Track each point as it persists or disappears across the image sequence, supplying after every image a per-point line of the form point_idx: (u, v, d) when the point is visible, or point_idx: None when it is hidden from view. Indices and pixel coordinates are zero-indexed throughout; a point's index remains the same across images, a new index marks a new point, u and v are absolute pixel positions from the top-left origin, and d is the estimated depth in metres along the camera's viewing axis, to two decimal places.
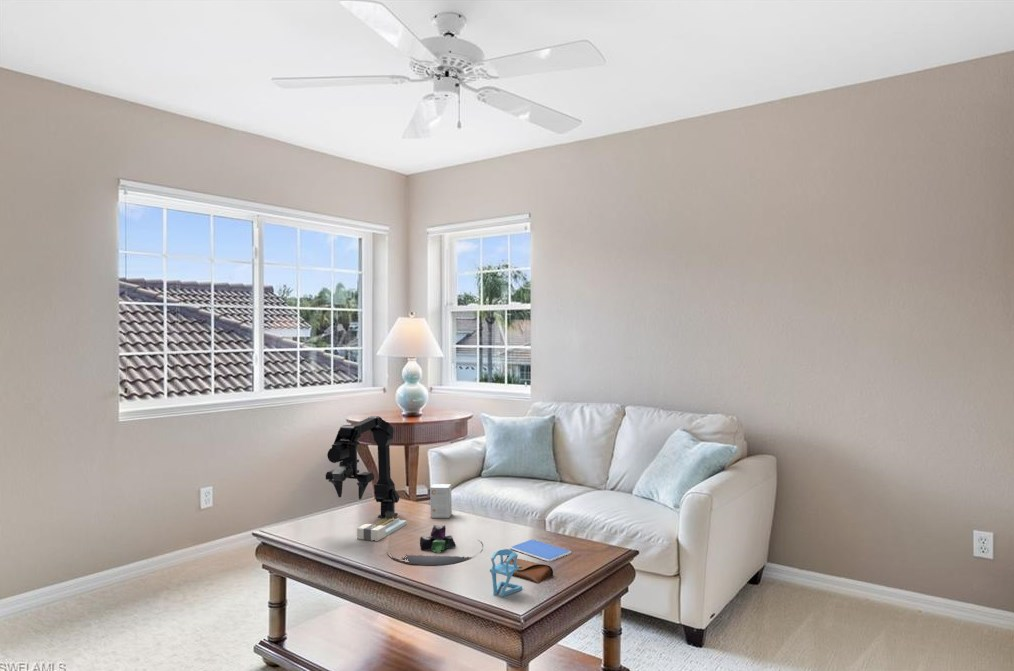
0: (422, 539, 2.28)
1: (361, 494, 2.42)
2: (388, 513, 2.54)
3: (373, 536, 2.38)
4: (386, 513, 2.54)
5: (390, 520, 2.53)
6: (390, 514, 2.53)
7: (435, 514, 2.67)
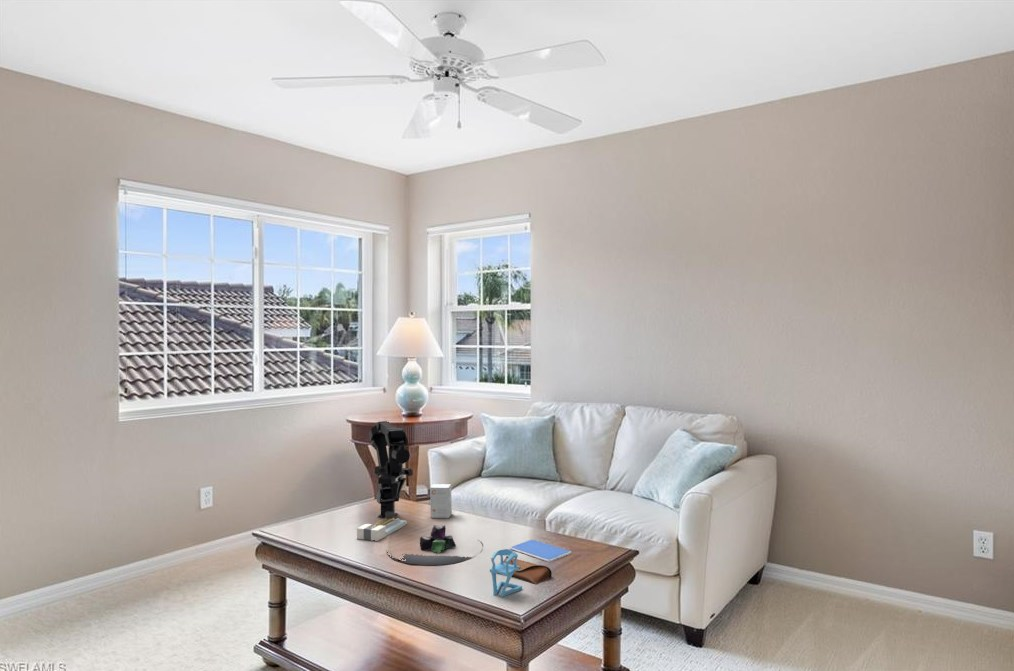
0: (422, 539, 2.28)
1: (393, 493, 2.58)
2: (388, 513, 2.54)
3: (373, 536, 2.38)
4: (386, 513, 2.54)
5: (390, 520, 2.53)
6: (390, 514, 2.53)
7: (435, 514, 2.67)
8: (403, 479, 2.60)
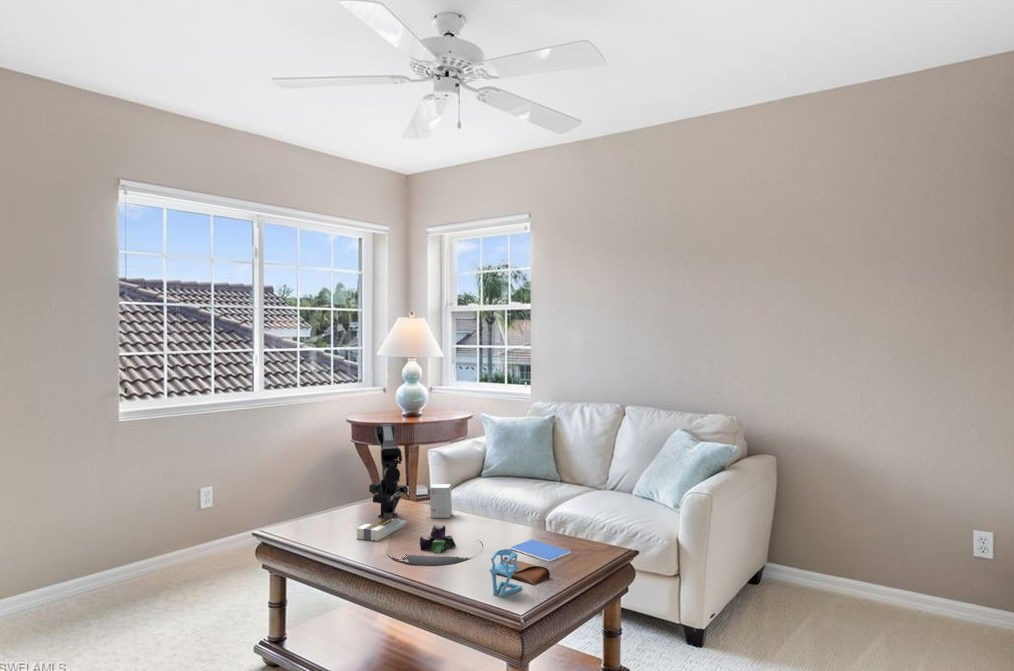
0: (422, 539, 2.28)
1: (389, 511, 2.55)
2: (386, 514, 2.52)
3: (373, 536, 2.38)
4: (384, 514, 2.53)
5: (388, 521, 2.51)
6: (388, 515, 2.52)
7: (435, 514, 2.67)
8: (397, 497, 2.56)
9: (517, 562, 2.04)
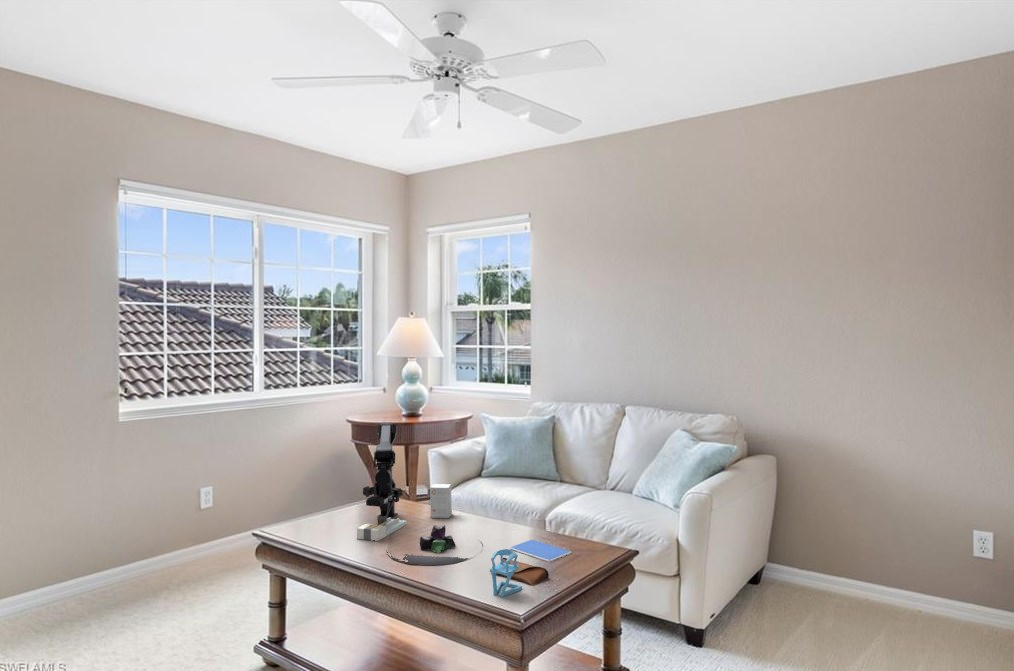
0: (422, 539, 2.28)
1: (383, 514, 2.50)
2: (380, 517, 2.48)
3: (373, 536, 2.38)
4: (378, 517, 2.48)
5: (382, 524, 2.47)
6: (382, 518, 2.48)
7: (435, 514, 2.67)
8: (391, 500, 2.51)
9: (516, 563, 2.03)
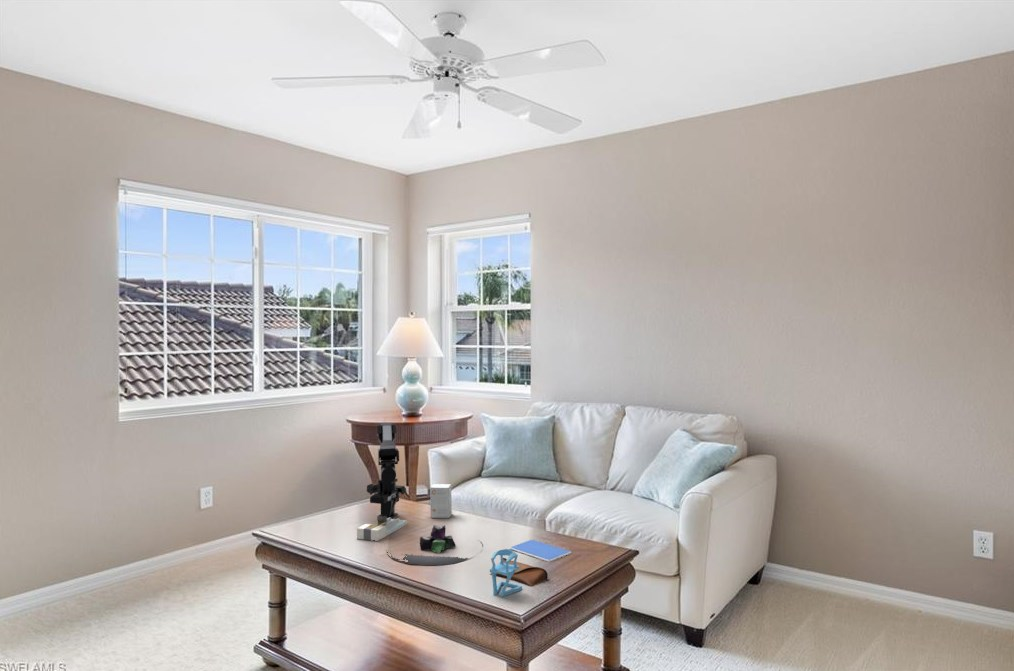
0: (422, 539, 2.28)
1: (387, 511, 2.53)
2: (380, 517, 2.48)
3: (373, 536, 2.38)
4: (378, 517, 2.48)
5: (382, 524, 2.47)
6: (382, 518, 2.48)
7: (435, 514, 2.67)
8: (395, 498, 2.54)
9: None
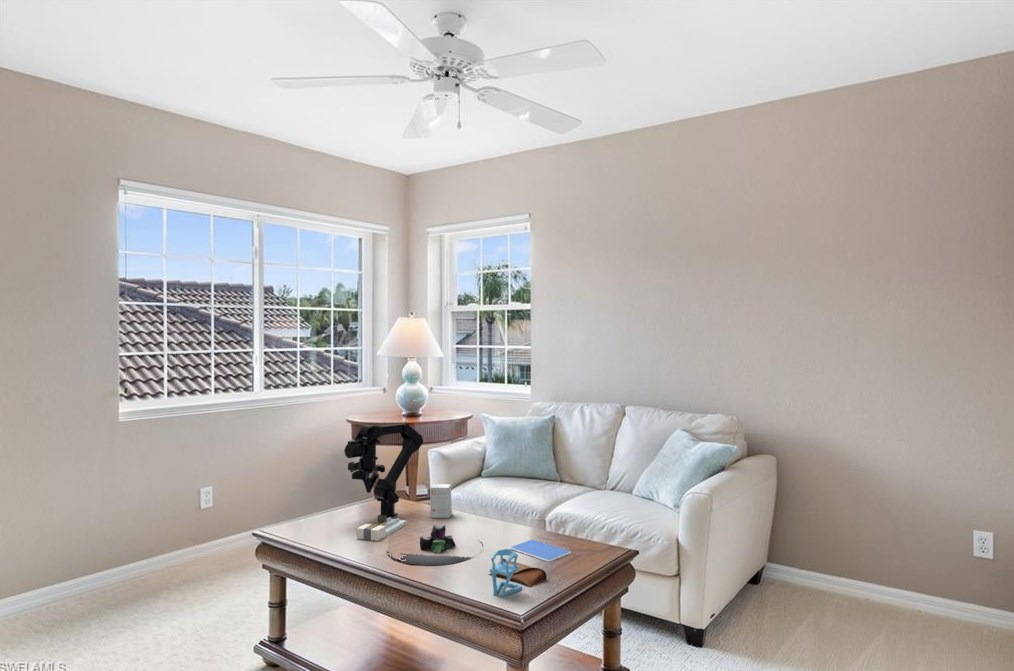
0: (422, 539, 2.28)
1: (367, 488, 2.62)
2: (380, 517, 2.48)
3: (373, 536, 2.38)
4: (378, 517, 2.48)
5: (382, 524, 2.47)
6: (382, 518, 2.48)
7: (435, 514, 2.67)
8: (375, 475, 2.63)
9: None
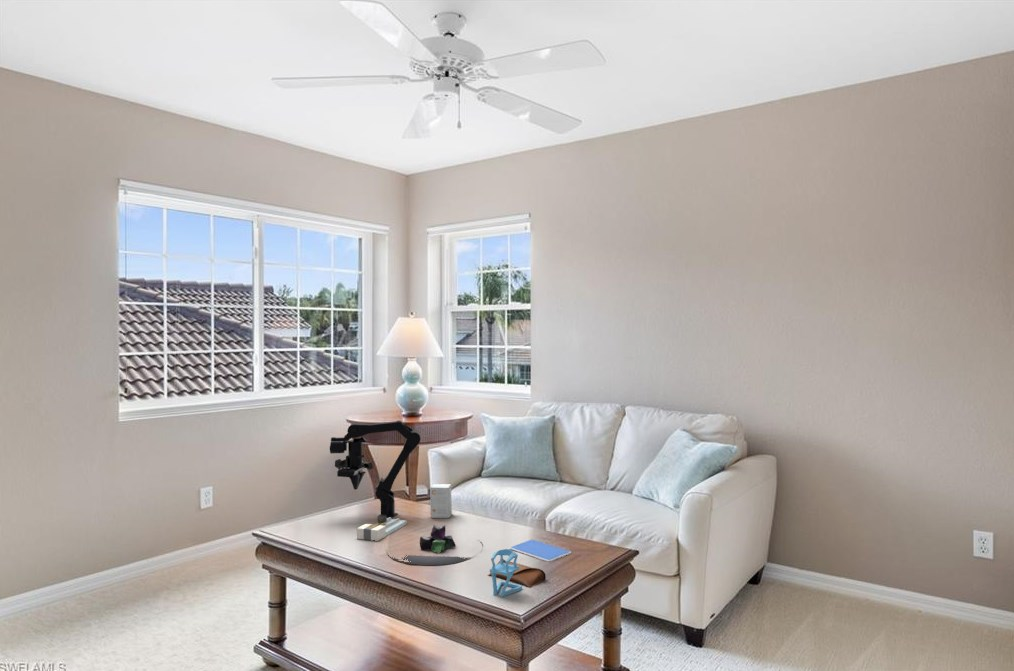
0: (422, 539, 2.28)
1: (354, 485, 2.68)
2: (380, 517, 2.48)
3: (373, 536, 2.38)
4: (378, 517, 2.48)
5: (382, 524, 2.47)
6: (382, 518, 2.48)
7: (435, 514, 2.67)
8: (362, 472, 2.69)
9: (513, 564, 2.02)
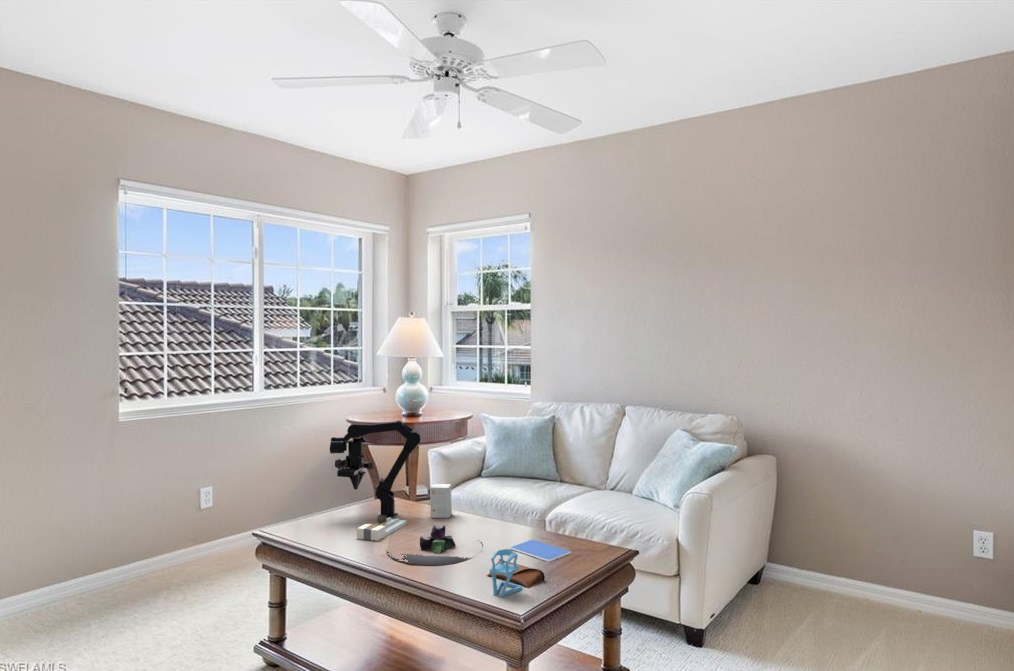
0: (422, 539, 2.28)
1: (354, 485, 2.68)
2: (380, 517, 2.48)
3: (373, 536, 2.38)
4: (378, 517, 2.48)
5: (382, 524, 2.47)
6: (382, 518, 2.48)
7: (435, 514, 2.67)
8: (362, 472, 2.69)
9: (512, 564, 2.02)
